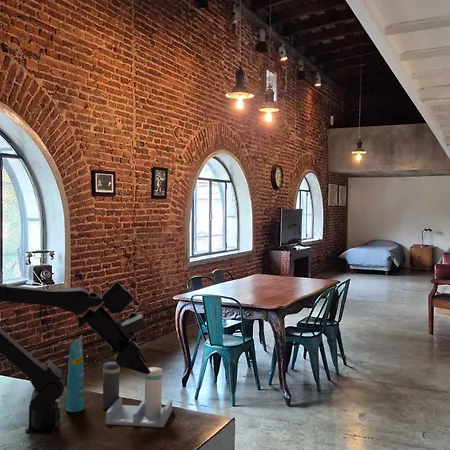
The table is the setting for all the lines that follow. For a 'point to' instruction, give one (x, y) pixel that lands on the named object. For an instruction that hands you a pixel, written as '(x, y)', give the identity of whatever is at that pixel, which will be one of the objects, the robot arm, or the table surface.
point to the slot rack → (136, 415)
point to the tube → (75, 378)
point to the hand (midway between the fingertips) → (147, 367)
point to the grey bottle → (110, 384)
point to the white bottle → (153, 392)
